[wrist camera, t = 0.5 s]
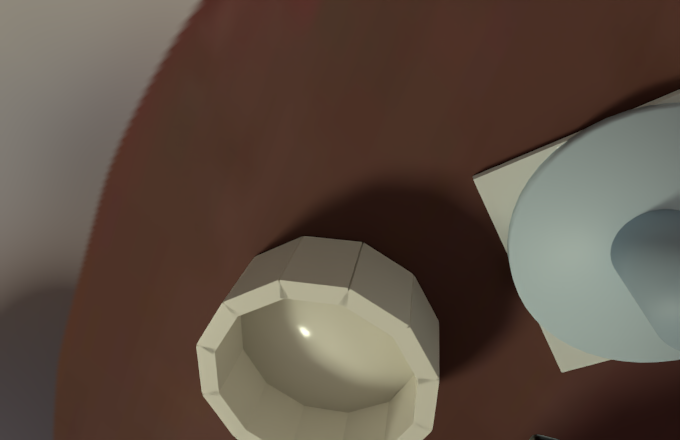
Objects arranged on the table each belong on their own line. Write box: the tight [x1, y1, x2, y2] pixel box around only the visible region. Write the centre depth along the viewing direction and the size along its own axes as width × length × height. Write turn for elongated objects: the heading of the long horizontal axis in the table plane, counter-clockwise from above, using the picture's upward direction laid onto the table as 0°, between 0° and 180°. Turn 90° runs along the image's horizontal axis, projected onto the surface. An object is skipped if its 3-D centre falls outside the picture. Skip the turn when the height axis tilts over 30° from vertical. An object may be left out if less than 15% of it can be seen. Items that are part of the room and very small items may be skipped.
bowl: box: [196, 236, 439, 440], centre depth 22 cm, size 10×10×4 cm
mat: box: [473, 89, 680, 372], centre depth 19 cm, size 10×10×1 cm
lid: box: [507, 103, 680, 362], centre depth 17 cm, size 10×10×5 cm
